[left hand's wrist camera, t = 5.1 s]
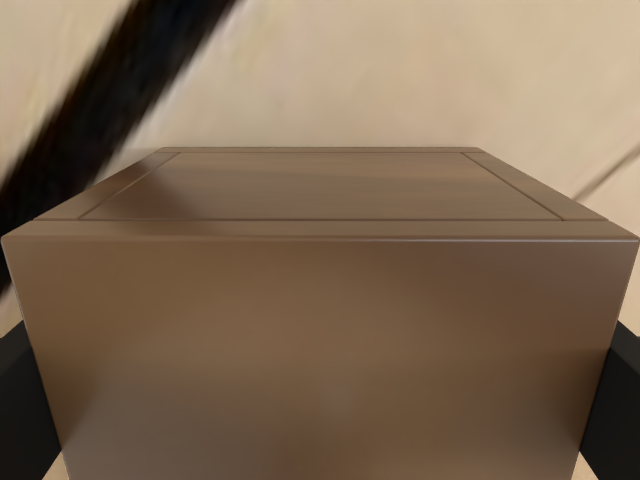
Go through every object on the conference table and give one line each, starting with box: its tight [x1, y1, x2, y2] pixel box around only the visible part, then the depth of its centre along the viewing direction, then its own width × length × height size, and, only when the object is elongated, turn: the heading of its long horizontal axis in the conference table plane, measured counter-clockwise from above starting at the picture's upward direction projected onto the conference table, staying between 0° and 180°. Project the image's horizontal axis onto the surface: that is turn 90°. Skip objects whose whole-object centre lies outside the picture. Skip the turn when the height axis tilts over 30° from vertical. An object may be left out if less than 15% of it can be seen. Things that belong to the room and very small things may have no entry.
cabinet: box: [1, 148, 640, 480], centre depth 15 cm, size 20×11×9 cm, turn 0°
